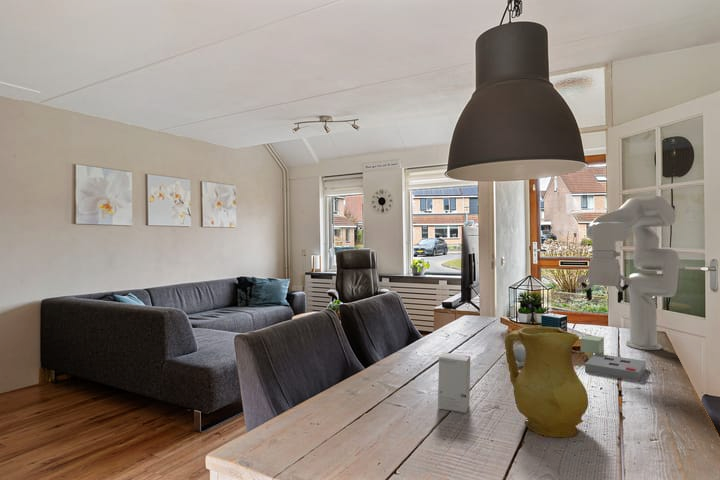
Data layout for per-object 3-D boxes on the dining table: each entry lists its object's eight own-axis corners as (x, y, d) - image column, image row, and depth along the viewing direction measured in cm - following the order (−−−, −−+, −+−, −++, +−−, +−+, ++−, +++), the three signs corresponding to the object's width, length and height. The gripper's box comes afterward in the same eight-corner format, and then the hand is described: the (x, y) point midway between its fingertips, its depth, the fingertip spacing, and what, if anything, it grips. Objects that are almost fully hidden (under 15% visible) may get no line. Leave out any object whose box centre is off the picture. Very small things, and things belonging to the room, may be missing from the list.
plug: (585, 354, 170) (585, 334, 170) (604, 357, 166) (604, 337, 166) (580, 358, 164) (580, 338, 164) (599, 361, 159) (599, 340, 159)
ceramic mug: (527, 360, 163) (526, 340, 163) (543, 366, 155) (542, 345, 155) (505, 364, 159) (504, 344, 159) (520, 370, 152) (520, 349, 151)
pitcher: (546, 446, 96) (543, 336, 97) (498, 418, 114) (496, 325, 115) (606, 437, 101) (602, 332, 102) (550, 411, 119) (548, 322, 120)
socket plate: (595, 361, 160) (595, 351, 160) (645, 369, 150) (645, 359, 150) (585, 371, 148) (584, 361, 148) (638, 381, 138) (638, 370, 138)
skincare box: (437, 409, 119) (436, 357, 119) (442, 401, 124) (441, 351, 124) (467, 413, 116) (466, 360, 115) (471, 405, 121) (470, 354, 121)
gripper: (632, 255, 153) (633, 302, 153) (580, 254, 164) (581, 298, 164) (629, 256, 147) (630, 304, 147) (575, 255, 158) (576, 300, 158)
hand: (604, 301), depth 156 cm, fingers open, 9 cm apart
